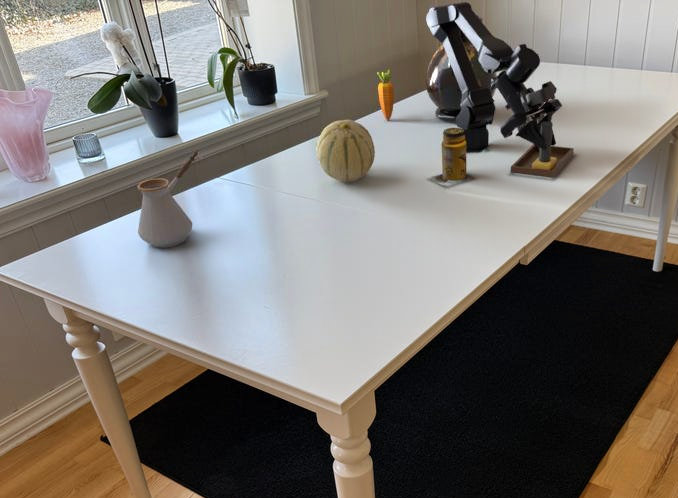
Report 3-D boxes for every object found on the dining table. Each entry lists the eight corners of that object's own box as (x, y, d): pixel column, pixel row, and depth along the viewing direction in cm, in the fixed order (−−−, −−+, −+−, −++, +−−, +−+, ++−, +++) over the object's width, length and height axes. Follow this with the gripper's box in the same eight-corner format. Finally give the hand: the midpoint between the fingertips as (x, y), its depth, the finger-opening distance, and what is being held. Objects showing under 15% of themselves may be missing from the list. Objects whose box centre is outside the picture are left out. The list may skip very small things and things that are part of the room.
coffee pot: (171, 255, 146) (152, 187, 137) (130, 247, 150) (109, 180, 141) (233, 215, 161) (219, 152, 152) (194, 209, 165) (178, 147, 157)
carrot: (377, 122, 215) (373, 71, 206) (384, 117, 218) (380, 67, 210) (392, 123, 213) (388, 72, 204) (398, 118, 217) (395, 68, 208)
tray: (552, 180, 169) (553, 171, 168) (510, 174, 174) (510, 166, 172) (573, 156, 182) (574, 148, 181) (533, 151, 187) (533, 143, 185)
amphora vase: (487, 129, 204) (488, 25, 188) (418, 125, 210) (413, 24, 194) (503, 108, 221) (505, 11, 204) (438, 105, 227) (436, 10, 210)
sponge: (548, 174, 171) (551, 127, 164) (531, 172, 172) (534, 126, 166) (556, 166, 175) (559, 120, 168) (539, 164, 177) (541, 118, 170)
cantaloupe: (352, 164, 185) (346, 107, 176) (389, 177, 176) (385, 117, 168) (308, 180, 177) (299, 121, 168) (344, 194, 168) (337, 133, 159)
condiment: (473, 179, 173) (473, 130, 166) (446, 187, 169) (444, 138, 162) (456, 171, 178) (455, 123, 171) (429, 179, 174) (427, 131, 167)
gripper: (511, 80, 157) (549, 138, 157) (558, 63, 168) (593, 117, 168) (484, 110, 166) (519, 164, 167) (530, 92, 177) (563, 143, 177)
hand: (550, 146), depth 169 cm, fingers open, 3 cm apart
